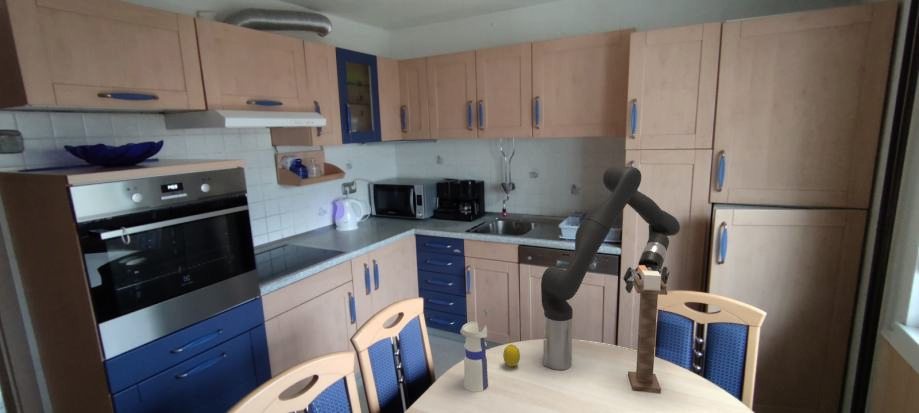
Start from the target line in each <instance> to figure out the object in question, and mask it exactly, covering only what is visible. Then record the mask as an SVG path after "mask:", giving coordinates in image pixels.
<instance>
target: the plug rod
mask: <svg viewBox="0 0 919 413" xmlns="http://www.w3.org/2000/svg"><path fill="white" fill-rule="evenodd" d="M637 267H638V272H639V274H640V276H641V284H642V287H643V289H644V290H659V291H660V286H661V273H660V274H659V272H658V271H648V270H647V268H646V267H645V265H638V264H637Z"/></svg>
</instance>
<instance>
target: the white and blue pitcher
mask: <svg viewBox="0 0 919 413" xmlns="http://www.w3.org/2000/svg"><path fill="white" fill-rule="evenodd" d="M482 311H483V316H486V318H489V313H490V311H488V310H487V307H486V306H484V308H482ZM460 334H461V335H462V337H463V336H464V337H465V343H463V347H464V349H465V356H464V359H463V365H464V366H463V370H464V372H463V387H464V388H465V390H467V391H469V392H473V393H481V392H483V391H486V390H487V388H489V375H488V374H489V372H488V358H487V354H486V353H487V352H486V350H487V342H486V340H485V338H487V337H488V327H487V324H485V325H484V327H483V330H482V331H479V324H478V322H476V321H468V322H467V323H465V324H463V325H462V327H461V329H460Z"/></svg>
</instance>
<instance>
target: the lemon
mask: <svg viewBox="0 0 919 413" xmlns="http://www.w3.org/2000/svg"><path fill="white" fill-rule="evenodd" d="M502 355H503V356H502V357H503V361H504V363H505V364H506V365H507V366H510V367H511V368H512V367H515V366H516V365H518V363H519V362H520V361H521V352H520V349H519V348H518V347H517V346H516V345H515V344H508V345H507V346H506V347H505V348H504V350H503V354H502Z"/></svg>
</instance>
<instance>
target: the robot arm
mask: <svg viewBox="0 0 919 413" xmlns="http://www.w3.org/2000/svg"><path fill="white" fill-rule="evenodd" d="M602 176H603V178H602V182H603V185H604V187H605V188H606V190H608V191H609V192H611V195H610V196H609V197H607V198H606V199H605V200H604V201H603V202H601V203H599V204H598V205H597V206H596V207H594V208H593V209H592V210H590V211H589V212H588V213H587V214H586V215H585V216H584V217H583V219H582V221H581V223H580V225H579V226H578V228H577V229H576V232H575V236H574V254H573V257H572V259H571V262H570V264H569V266H568V267H567V268H566V269H564V268H561V267H558V266H556V265H555V266H553V265H552V266H549V267H547V268H546V269H544V272H543V274H542V276H541V282H540V291H541V293H540V294H541V295H540V296H541V307H542V309H543V312H544V313H543V355H542V356H543V358H542V359H543V360H542V361H543V367H547V368H549V369H553V370H557V371H563V370H567V369H569V368H571V367H572V363H573V362H572V361H573V360H572V359H573V357H572V356H573V355H572V354H573V352H572V351H573V322H574V321H573V318H574V317H573V314H574V313H573V312H574V311H573V308H572V306H571V305H570V303H569V302H568V300H572V299H573V297H575V295H577V292H578V291H579V289H580V287H581V285H582V283H583V281H584V279H585V277H586V275H587V272H588V270H589V268H590V266H591V263H593V262H592V261H594V258H595V256H596V255H597V253H598V252H599V249H600V248H601V246H602V244H603V243H604V242H605V240H606V238H607V237H608V235H609V233H610V231H611V230H612V227H613V226H614V224H615V222H616V221H617V220H618V218H619V216H621V215H620V214H622V212H623V210H624V209H625V207H626V206H627V205H628V206H629V207H630V208H632V209H633V210H634V212H636V214H638V215H639V216H640V218H642V219H643V221H645V223H647V224H648V239H647V242H646V244H645V246H644V248H643V250H642V252H641V255H640V258H639V259H638V264H637V267H636V268H632V267H631V266H630V267H627V269H626V272H625V274H624V276H623V278H622V279H623V282H624V283H625V284H626V285H625V290H626V292H627V294H631V293H632V290H633V288H634V285H633V280H634V276H638V278H639V280H640V281H641V276H640V274H639V272H638V265H645V267H646V268H647V270H648V271H658V272H659V274H660V275H661V279H662V281H663V282H664V284H665V285H667V283H668V279H669V276H670V271H669V269H668V267H667V266H663V264H664V261H665V260H666V256H667V255H666V254H667V250H668V247H669V244H670V238H668V237H672V236H676V235H678V234H679V232H680V229H681V225H680V223H679V221H678V219H677V218H676V217H675V216H674V215H673V214H671V213H668V212H666V210H663V209H661V208H660V206H659V205H658V204H657V203H656V202H655V200H653V199H652V198H650V197H649V196H647V195H646V194H644V193H643V192H640V191H639V190H638V189H639V188H640V185H641V183H642V173H641V170H640V169H639V168H637V167H635V166H634V167H633V166H624V165H623V166H622V165H614V166H610V167H608V168H607V169H606V170H605V171H604V173H603V175H602Z"/></svg>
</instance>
